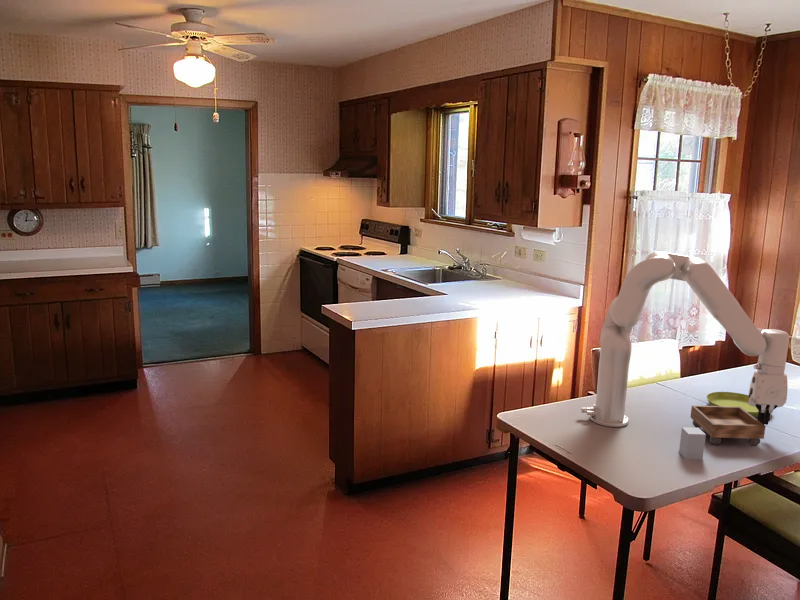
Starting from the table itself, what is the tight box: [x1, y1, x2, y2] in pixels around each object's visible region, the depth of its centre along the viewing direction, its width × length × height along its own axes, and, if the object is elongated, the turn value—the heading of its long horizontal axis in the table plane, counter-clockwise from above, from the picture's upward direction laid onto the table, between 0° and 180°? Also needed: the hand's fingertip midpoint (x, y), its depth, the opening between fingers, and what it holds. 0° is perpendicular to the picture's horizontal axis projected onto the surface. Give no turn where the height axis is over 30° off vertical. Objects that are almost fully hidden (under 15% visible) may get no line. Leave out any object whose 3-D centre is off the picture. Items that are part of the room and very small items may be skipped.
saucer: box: [706, 391, 759, 418], centre depth 233 cm, size 21×21×3 cm
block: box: [678, 426, 707, 461], centre depth 194 cm, size 5×5×8 cm
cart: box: [690, 405, 767, 447], centre depth 208 cm, size 16×16×7 cm
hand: (762, 422), depth 207 cm, fingers closed
